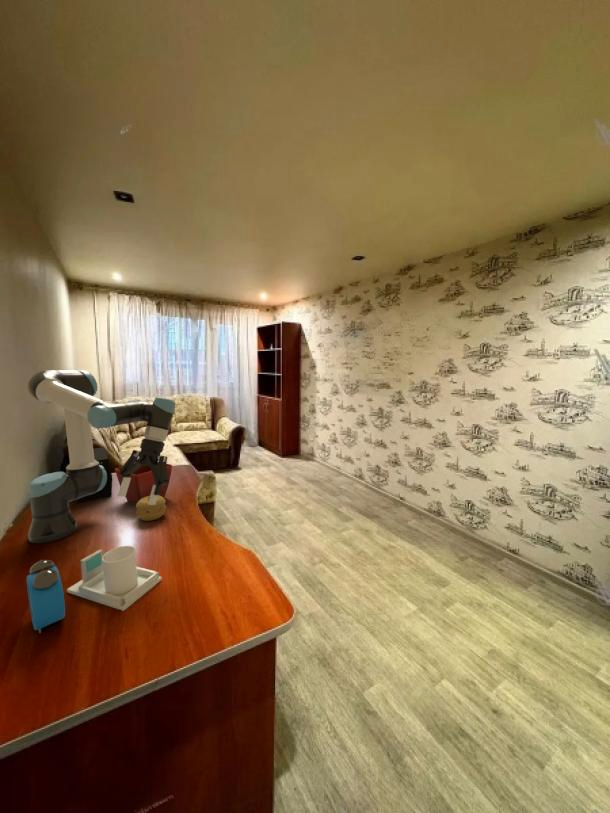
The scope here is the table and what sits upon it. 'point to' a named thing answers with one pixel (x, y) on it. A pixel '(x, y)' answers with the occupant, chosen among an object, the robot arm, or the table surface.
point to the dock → (95, 587)
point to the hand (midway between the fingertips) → (136, 500)
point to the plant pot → (142, 483)
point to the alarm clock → (45, 594)
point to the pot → (150, 508)
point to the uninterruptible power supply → (107, 489)
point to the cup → (120, 570)
